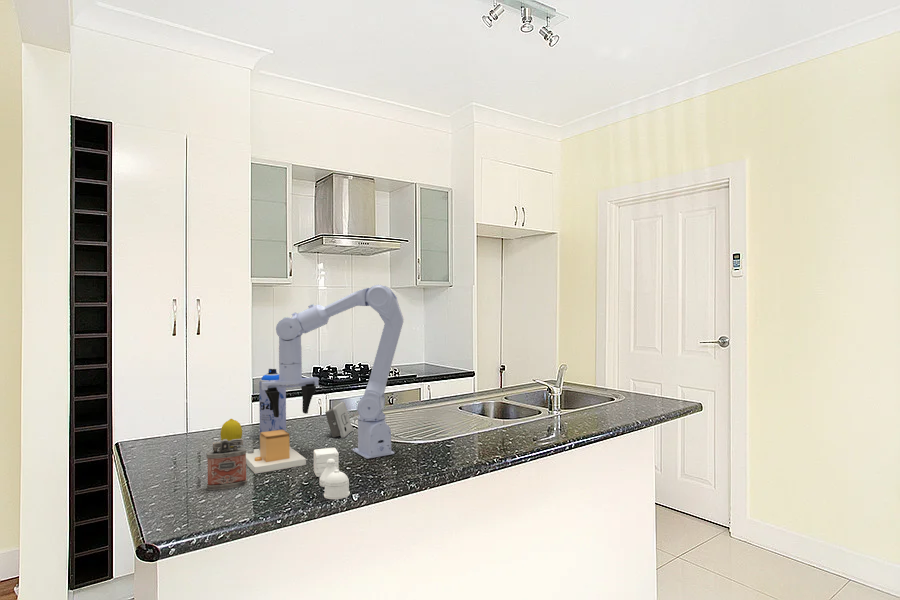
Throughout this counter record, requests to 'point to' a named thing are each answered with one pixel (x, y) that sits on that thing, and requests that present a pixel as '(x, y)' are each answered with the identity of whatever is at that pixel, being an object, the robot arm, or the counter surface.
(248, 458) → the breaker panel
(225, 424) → the lemon
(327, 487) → the container set
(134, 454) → the counter surface
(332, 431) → the electrical switch
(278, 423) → the aerosol can
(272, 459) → the small cardboard box
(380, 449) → the robot arm
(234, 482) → the lighter
